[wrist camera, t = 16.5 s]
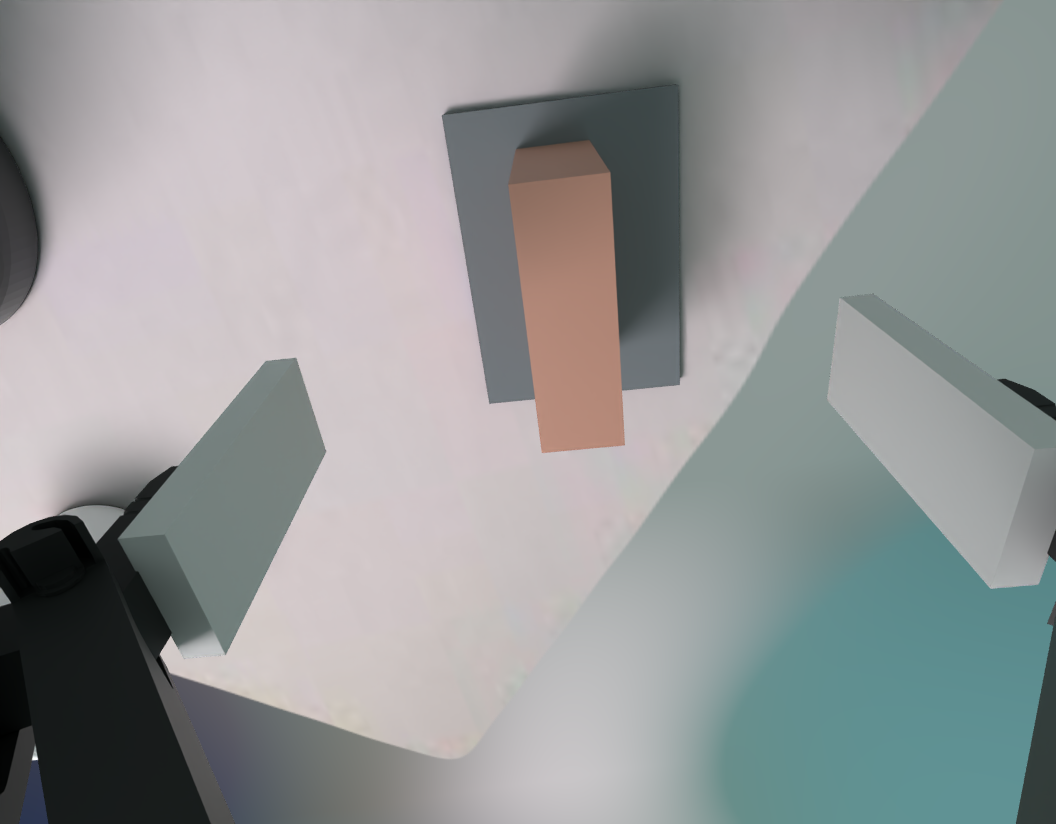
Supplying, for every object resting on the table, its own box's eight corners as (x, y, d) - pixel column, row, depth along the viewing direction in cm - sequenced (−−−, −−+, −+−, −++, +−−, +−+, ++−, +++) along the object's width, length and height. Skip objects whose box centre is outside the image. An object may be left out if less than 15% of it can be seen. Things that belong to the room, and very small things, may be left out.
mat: (490, 398, 35) (489, 403, 34) (443, 114, 28) (441, 115, 27) (677, 379, 34) (679, 384, 34) (675, 84, 27) (678, 85, 27)
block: (541, 453, 25) (507, 184, 20) (540, 358, 33) (515, 149, 28) (624, 445, 25) (610, 172, 20) (603, 351, 33) (589, 139, 28)
